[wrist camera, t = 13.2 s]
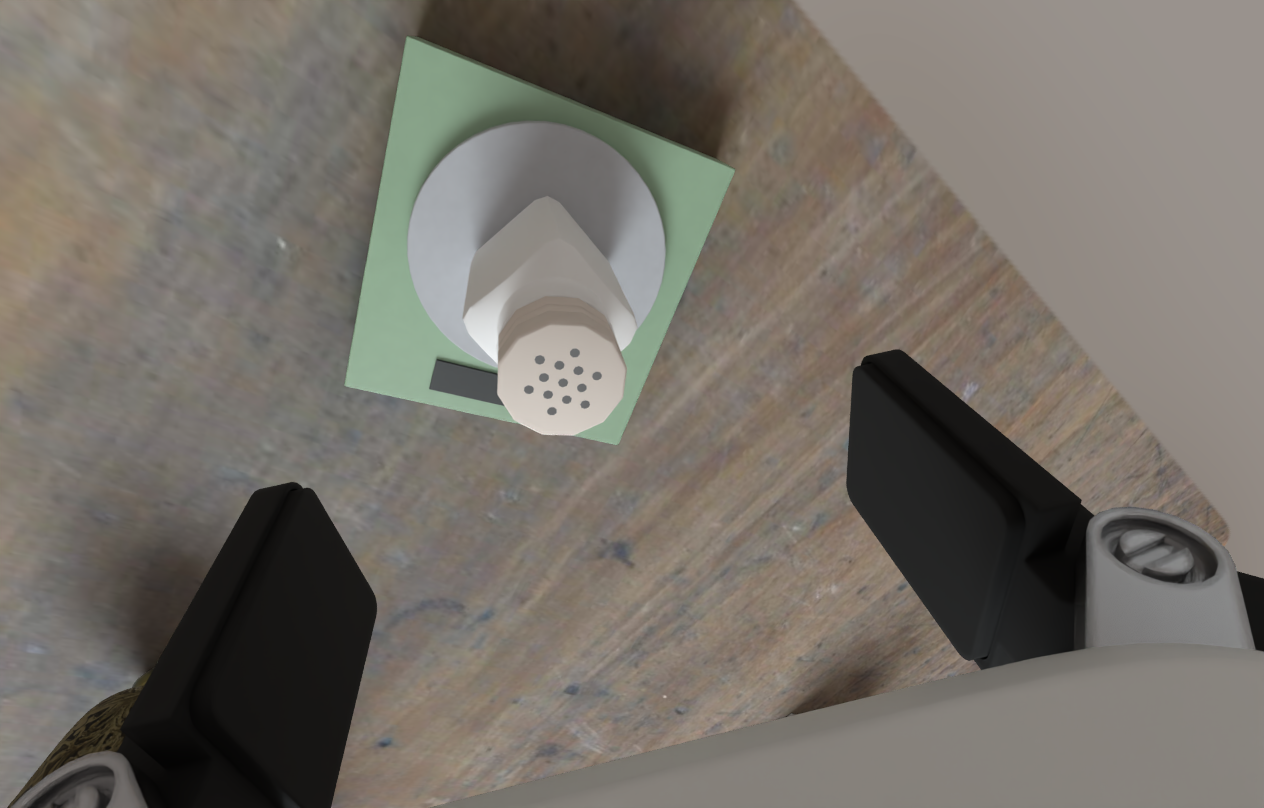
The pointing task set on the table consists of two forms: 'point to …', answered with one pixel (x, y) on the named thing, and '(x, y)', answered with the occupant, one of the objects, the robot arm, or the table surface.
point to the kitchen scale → (493, 196)
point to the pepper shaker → (550, 321)
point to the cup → (91, 733)
